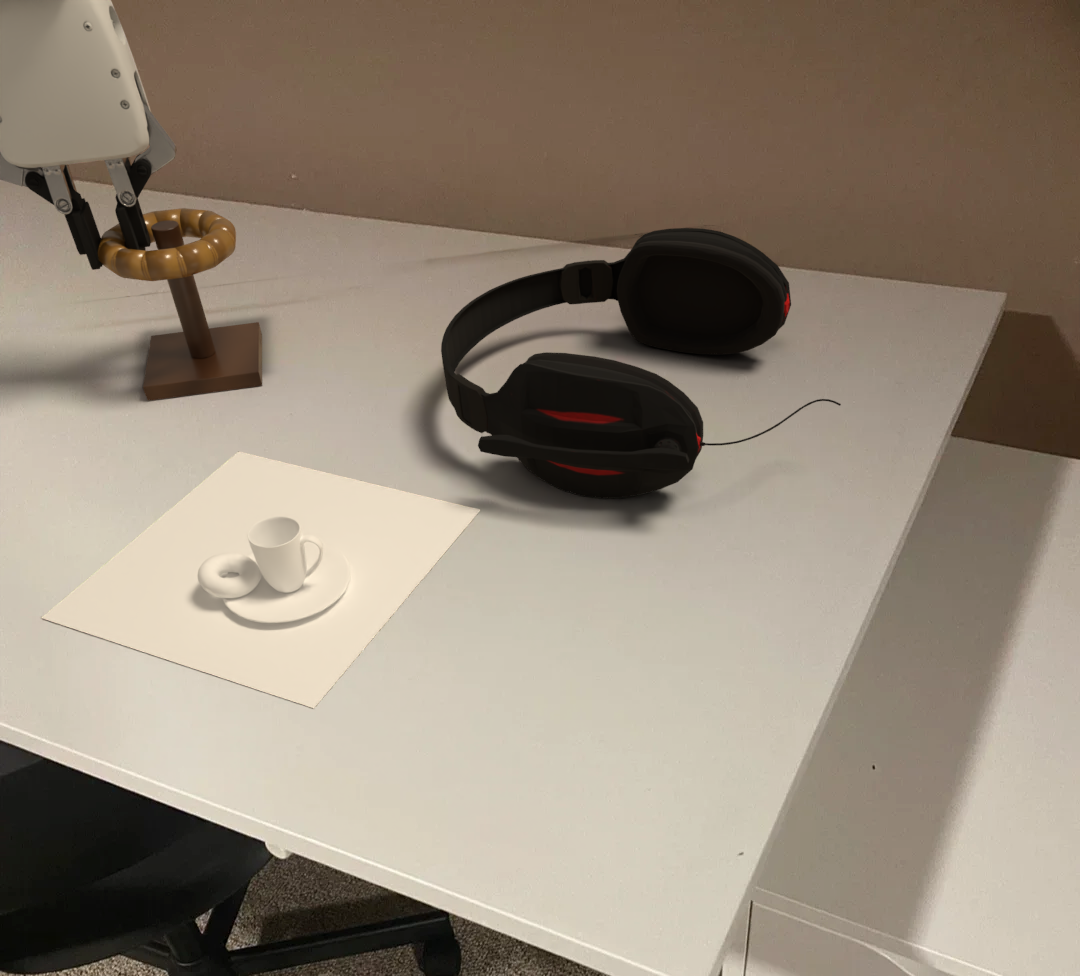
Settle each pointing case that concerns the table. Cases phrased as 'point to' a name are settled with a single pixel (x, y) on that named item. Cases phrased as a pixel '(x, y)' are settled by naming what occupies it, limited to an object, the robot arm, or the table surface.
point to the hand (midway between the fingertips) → (118, 257)
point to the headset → (611, 386)
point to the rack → (198, 343)
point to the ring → (172, 261)
